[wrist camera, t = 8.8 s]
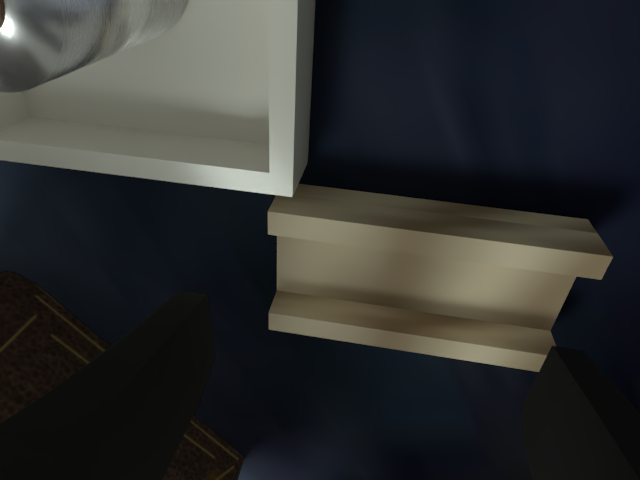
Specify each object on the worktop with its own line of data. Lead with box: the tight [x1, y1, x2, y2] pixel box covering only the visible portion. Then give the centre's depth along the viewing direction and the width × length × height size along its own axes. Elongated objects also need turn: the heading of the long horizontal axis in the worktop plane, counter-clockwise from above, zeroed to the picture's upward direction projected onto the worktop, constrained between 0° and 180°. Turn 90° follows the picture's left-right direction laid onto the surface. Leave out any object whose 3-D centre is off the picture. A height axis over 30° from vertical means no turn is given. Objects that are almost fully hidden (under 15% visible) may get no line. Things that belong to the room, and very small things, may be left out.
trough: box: [268, 184, 613, 372], centre depth 18 cm, size 12×6×2 cm, turn 87°
